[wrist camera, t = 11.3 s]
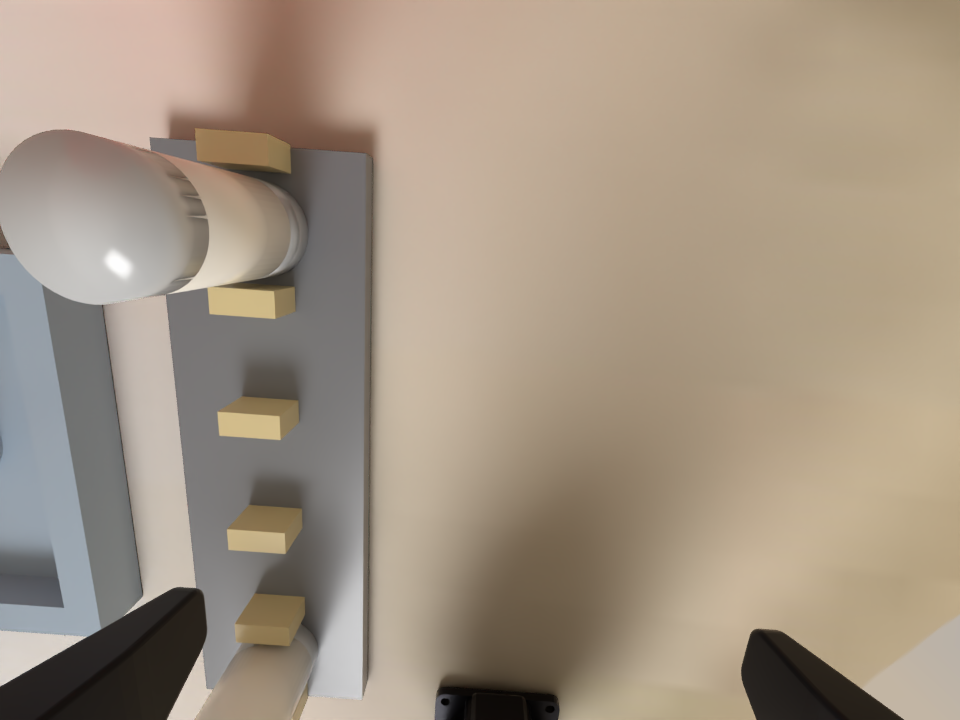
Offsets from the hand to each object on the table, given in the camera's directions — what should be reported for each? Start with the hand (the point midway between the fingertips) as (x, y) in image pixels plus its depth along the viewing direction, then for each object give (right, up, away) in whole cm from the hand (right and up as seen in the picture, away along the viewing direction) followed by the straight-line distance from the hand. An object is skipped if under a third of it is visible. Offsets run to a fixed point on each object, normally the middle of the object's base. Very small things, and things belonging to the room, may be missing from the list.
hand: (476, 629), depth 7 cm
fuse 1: (-8, +9, +10) cm, 16 cm away
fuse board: (-9, 0, +14) cm, 16 cm away
